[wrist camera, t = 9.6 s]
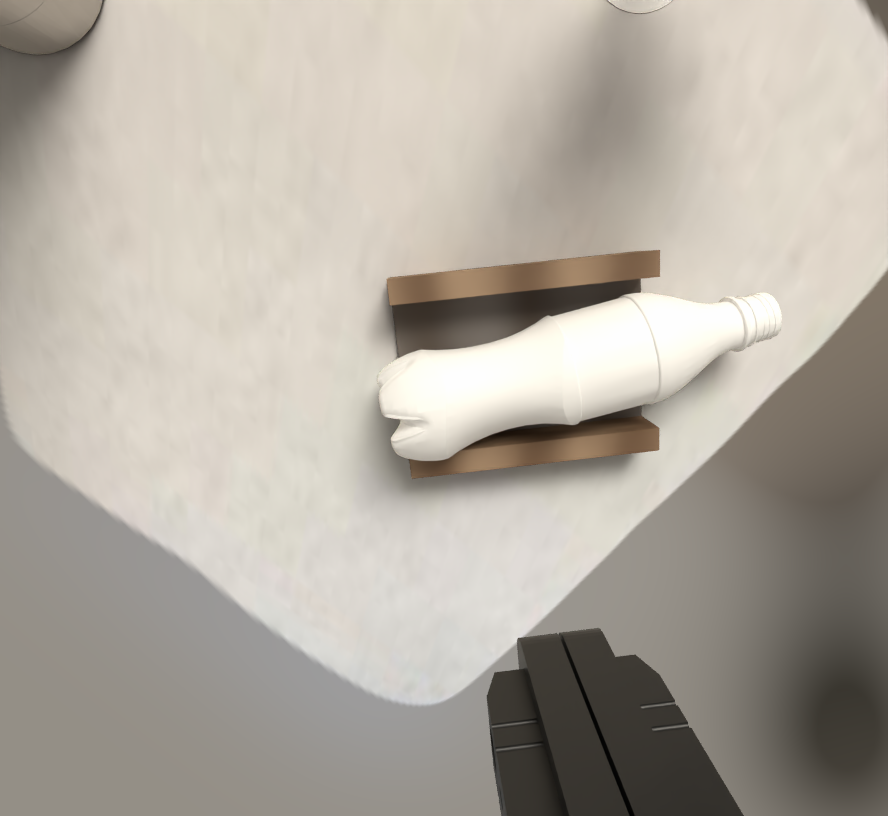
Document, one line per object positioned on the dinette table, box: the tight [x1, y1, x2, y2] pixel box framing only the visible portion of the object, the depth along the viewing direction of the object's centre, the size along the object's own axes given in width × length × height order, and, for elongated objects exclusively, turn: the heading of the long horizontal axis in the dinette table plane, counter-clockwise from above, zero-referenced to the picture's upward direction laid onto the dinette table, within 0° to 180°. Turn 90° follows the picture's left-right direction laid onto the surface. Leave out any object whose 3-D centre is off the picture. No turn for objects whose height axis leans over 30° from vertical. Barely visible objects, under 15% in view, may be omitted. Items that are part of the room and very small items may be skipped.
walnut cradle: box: [387, 250, 660, 479], centre depth 37 cm, size 17×13×4 cm
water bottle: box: [377, 293, 782, 461], centre depth 35 cm, size 7×7×25 cm
